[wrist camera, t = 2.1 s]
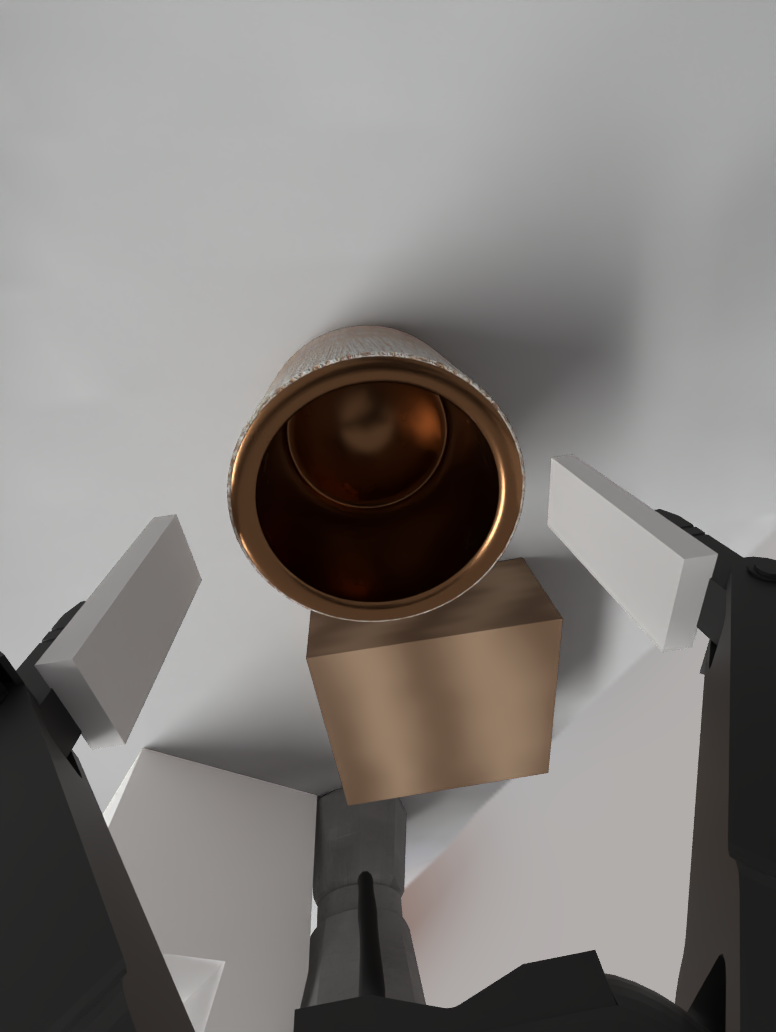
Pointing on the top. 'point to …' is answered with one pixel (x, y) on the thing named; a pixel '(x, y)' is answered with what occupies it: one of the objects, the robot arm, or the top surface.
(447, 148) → the top surface
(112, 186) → the top surface
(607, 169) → the top surface
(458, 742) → the plinth
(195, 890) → the white slotted block
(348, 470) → the planter
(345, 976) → the coffeepot
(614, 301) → the top surface
